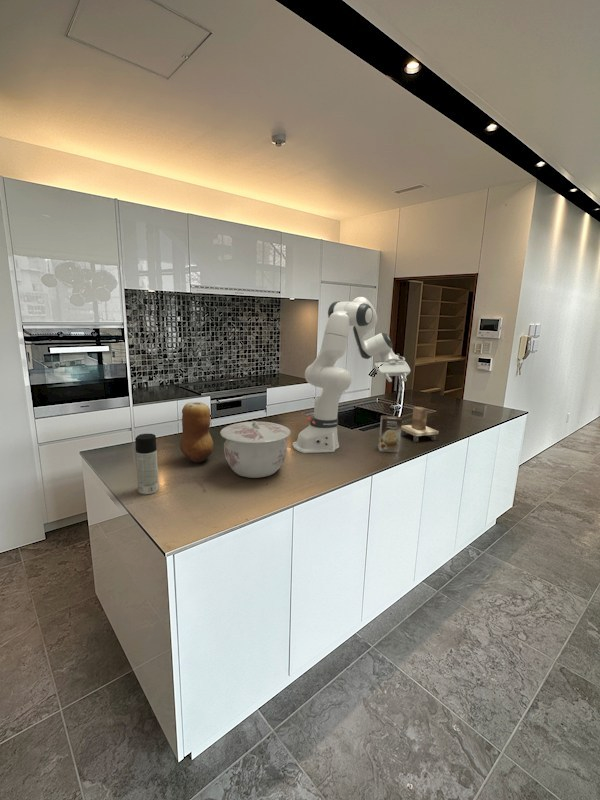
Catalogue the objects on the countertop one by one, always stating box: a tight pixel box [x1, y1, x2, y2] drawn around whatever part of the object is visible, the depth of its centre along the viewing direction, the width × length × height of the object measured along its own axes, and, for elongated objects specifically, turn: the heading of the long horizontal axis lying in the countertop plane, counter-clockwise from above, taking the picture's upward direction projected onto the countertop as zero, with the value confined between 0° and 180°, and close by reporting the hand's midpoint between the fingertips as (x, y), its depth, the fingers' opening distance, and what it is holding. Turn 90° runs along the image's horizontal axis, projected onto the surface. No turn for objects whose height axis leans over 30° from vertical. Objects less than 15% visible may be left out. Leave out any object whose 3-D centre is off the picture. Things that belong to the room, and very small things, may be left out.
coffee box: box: [377, 414, 403, 453], centre depth 181 cm, size 9×6×16 cm
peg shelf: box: [400, 424, 439, 443], centre depth 202 cm, size 14×14×5 cm
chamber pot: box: [219, 420, 292, 479], centre depth 152 cm, size 28×28×21 cm
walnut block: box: [411, 406, 428, 430], centre depth 201 cm, size 5×5×11 cm
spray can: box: [135, 433, 160, 495], centre depth 132 cm, size 7×7×20 cm
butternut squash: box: [179, 401, 214, 464], centre depth 160 cm, size 14×13×25 cm
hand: (397, 381), depth 212 cm, fingers open, 8 cm apart
